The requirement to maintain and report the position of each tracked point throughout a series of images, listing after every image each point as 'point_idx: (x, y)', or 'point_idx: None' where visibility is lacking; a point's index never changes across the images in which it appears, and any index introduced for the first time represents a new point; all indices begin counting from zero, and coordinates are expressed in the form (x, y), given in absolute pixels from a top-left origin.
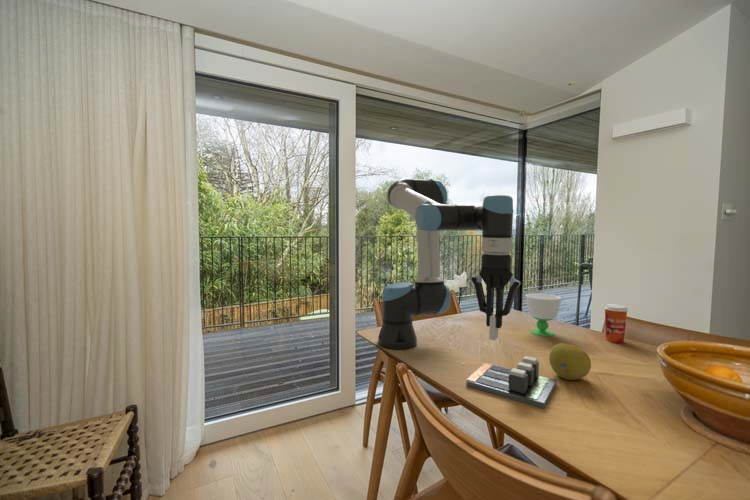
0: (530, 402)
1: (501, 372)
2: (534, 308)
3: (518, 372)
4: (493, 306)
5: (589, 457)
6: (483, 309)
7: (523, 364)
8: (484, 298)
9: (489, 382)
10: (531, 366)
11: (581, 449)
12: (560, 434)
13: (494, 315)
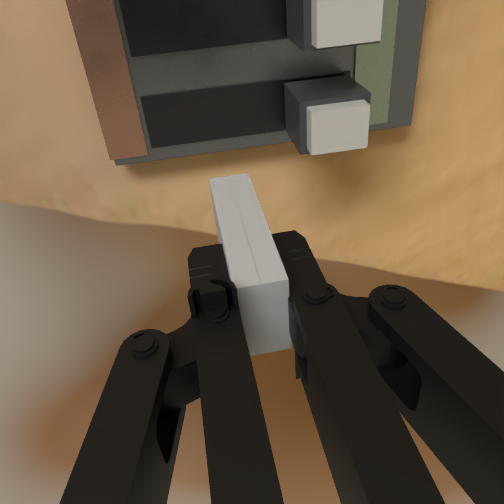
0: None
1: None
2: None
3: (345, 149)
4: (249, 354)
5: (499, 251)
6: (181, 408)
7: (343, 26)
8: (144, 470)
9: (197, 118)
10: (380, 7)
11: (488, 237)
12: (447, 215)
13: (265, 320)
